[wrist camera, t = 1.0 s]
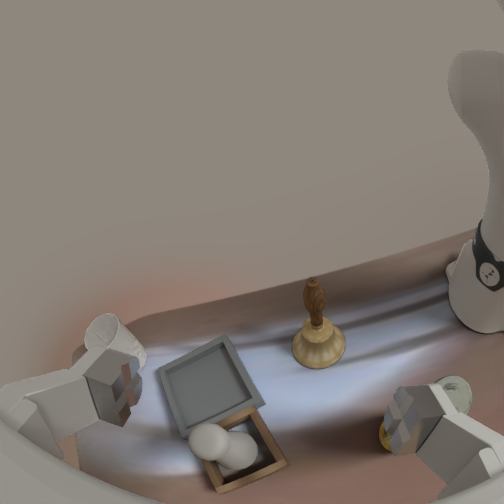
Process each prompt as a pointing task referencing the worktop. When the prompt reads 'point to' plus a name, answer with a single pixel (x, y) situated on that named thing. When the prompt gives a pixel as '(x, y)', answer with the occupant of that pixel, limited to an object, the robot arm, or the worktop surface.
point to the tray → (208, 385)
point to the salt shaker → (223, 446)
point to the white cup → (114, 337)
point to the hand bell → (317, 332)
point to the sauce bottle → (456, 393)
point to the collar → (280, 464)
